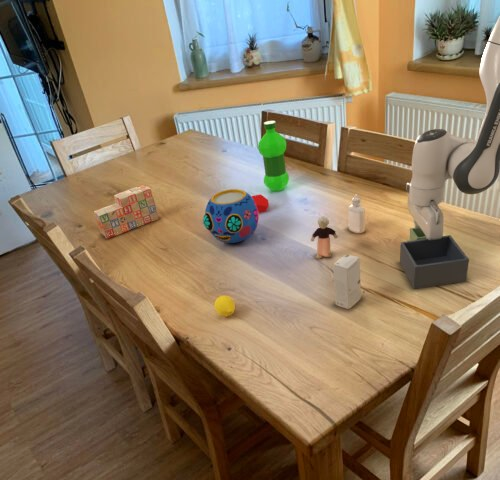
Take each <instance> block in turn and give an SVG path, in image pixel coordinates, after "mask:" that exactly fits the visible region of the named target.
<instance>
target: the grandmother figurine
mask: <svg viewBox="0 0 500 480" xmlns="http://www.w3.org/2000/svg"><path fill="white" fill-rule="evenodd" d="M329 224H330V220H329V219H328V217H326V216H319V217H318V219H317V225H318V227H317V228H316V230H314V232H313V234H312V236H311V238H310V241H311V242H314V241H315V240H316V238H317V240H316V242H317V243H316V244H317V245H316V248H317V249H316V251H317V254H316V256H315V258H316V259H322V258H323V257H324V258H331V257H332V254H331V238H330V237H331V236H332V237H333V238H334V239H337V238H338V234H337V232H336V230H334V229H333V228H331V227H329V226H328V225H329ZM330 235H331V236H330Z"/></svg>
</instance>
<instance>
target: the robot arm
mask: <svg viewBox="0 0 500 480" xmlns="http://www.w3.org/2000/svg"><path fill="white" fill-rule="evenodd" d="M478 74H479V79H480V82H481V85H482V87H483V90H484V94H485V99H486V107H485V114H484V117H483V119H482V123H481V126H480V128H479V131H478V133H477V137H476V140H475V139H473V138H471V137H462V136H457V135H454V134H452V133H450V132H448V131H447V130H446V129H442V128H434V129H430V130H427V131H424V132H422V133H421V134H420V135H418V136H417V138H416V140H415V142H414V145H413V149H412V156H411V167H410V168H411V173H412V176H411V179H410V182H407V183H406V184H405V185H406V186H405V187H406V188H405V190H406V192H407V210H408V212H409V214H410V215H411V217H412V218H413V224H414V228H417V227H420V228H421V230H422V231H423V233H424V234H425V235H426V238H428V240H438V239H441V238H442V236H444V222H445V221H444V220H445V219H444V212H443V211H442V209H441V208H440V206H439V204H441V203H443V202H444V198H445V189H446V181H448V180H450V179H452V180H453V182H454V184H455V186H456V188H457V189H458V191H460V192H461V193H463V194H466V195H478V194H481V193H483V192H485V191H487V190H489V188H491V187H492V186H493V185H494V184H495V183H496V181H497V179H498V177H499V175H500V15H498V18H497V20H496V22H495V24H494V26H493V28H492V31H491V33H490V36H489V38H488V41H487V43H486V44H485V47H484V50H483V53H482V57H481V60H480V64H479V70H478Z"/></svg>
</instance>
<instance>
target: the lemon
mask: <svg viewBox="0 0 500 480" xmlns="http://www.w3.org/2000/svg"><path fill="white" fill-rule="evenodd" d="M213 306H214V309H215V311H216V313H217V314H218V315H220V316H221V317H230V316H231V315H232V314H234V312H235V311H236V310H235V309H236V303H235V300H234V299H233V298H232V297H231V296H229V295H220V296H217V298H216V299H215V301H214V304H213Z"/></svg>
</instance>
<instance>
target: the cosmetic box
mask: <svg viewBox="0 0 500 480" xmlns="http://www.w3.org/2000/svg"><path fill="white" fill-rule="evenodd" d="M360 259H361V258H360V256H355V255H352V254H347V253H345V254H344V255H343V256H342V257H339V259H338V260H337V261H336V262H335V263H333V265H332V269H333V283H334V284H333V285H334V303H335V305H336V306H338V307H340V308H343V309H347V310H349V309H351V308H352V307H354V306H355V305H356V304H357V303H358V302H359V301H360V300H361V299H362V289H361V260H360Z"/></svg>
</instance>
